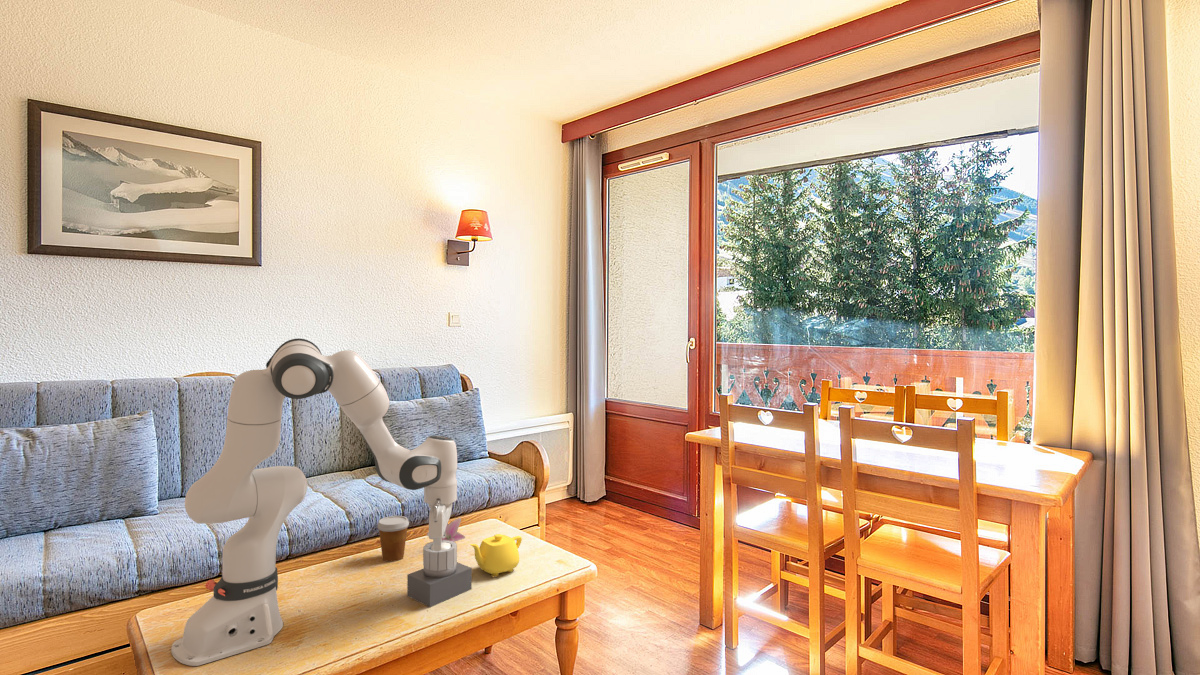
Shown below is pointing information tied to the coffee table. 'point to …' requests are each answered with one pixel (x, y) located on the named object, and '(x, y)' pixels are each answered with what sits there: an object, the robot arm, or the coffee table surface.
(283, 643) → the coffee table surface
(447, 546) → the white egg
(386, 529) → the disposable coffee cup
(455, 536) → the lily
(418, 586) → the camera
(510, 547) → the teapot
